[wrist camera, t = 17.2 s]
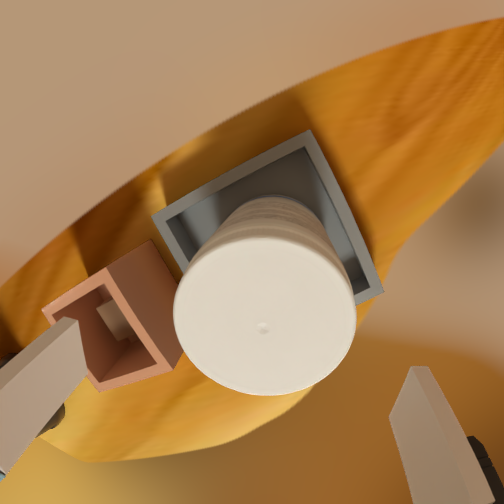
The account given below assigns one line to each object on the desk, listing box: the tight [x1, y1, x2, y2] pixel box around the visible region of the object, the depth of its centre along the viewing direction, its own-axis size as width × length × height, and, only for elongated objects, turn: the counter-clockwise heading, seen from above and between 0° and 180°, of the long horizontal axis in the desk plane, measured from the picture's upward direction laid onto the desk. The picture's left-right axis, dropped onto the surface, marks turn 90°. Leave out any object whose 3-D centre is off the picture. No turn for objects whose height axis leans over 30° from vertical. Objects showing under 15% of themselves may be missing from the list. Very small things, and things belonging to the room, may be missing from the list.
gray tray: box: [151, 129, 384, 306], centre depth 28 cm, size 15×15×4 cm
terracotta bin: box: [41, 239, 184, 392], centre depth 29 cm, size 10×10×9 cm
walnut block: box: [96, 296, 136, 341], centre depth 31 cm, size 4×4×4 cm
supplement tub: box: [173, 195, 356, 395], centre depth 22 cm, size 10×10×15 cm
